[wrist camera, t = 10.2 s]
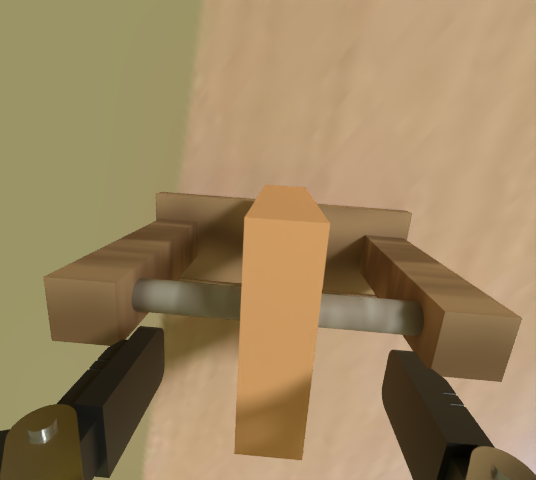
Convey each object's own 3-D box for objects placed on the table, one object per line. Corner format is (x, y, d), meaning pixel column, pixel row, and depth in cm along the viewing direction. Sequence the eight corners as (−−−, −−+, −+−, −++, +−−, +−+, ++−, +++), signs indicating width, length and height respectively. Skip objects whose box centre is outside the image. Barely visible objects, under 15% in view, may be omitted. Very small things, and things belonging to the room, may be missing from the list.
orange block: (265, 184, 21) (244, 217, 10) (305, 187, 21) (330, 223, 10) (257, 313, 24) (234, 453, 13) (293, 315, 24) (301, 460, 13)
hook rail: (161, 191, 25) (29, 229, 12) (405, 210, 25) (545, 271, 12) (163, 271, 27) (50, 378, 14) (390, 290, 26) (496, 420, 13)
